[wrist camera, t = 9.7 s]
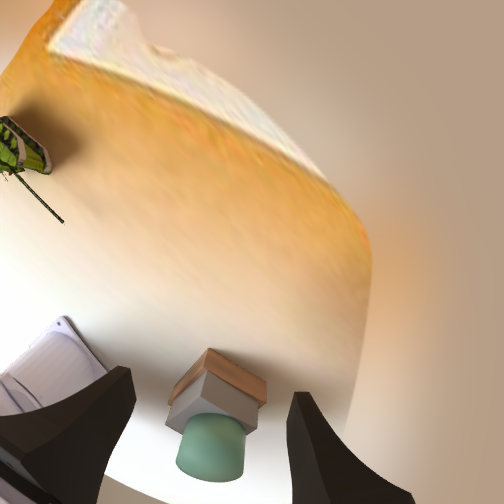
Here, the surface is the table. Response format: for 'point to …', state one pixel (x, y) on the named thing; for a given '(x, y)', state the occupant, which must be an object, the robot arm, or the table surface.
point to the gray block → (213, 403)
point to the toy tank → (22, 154)
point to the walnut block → (222, 377)
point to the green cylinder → (212, 448)
